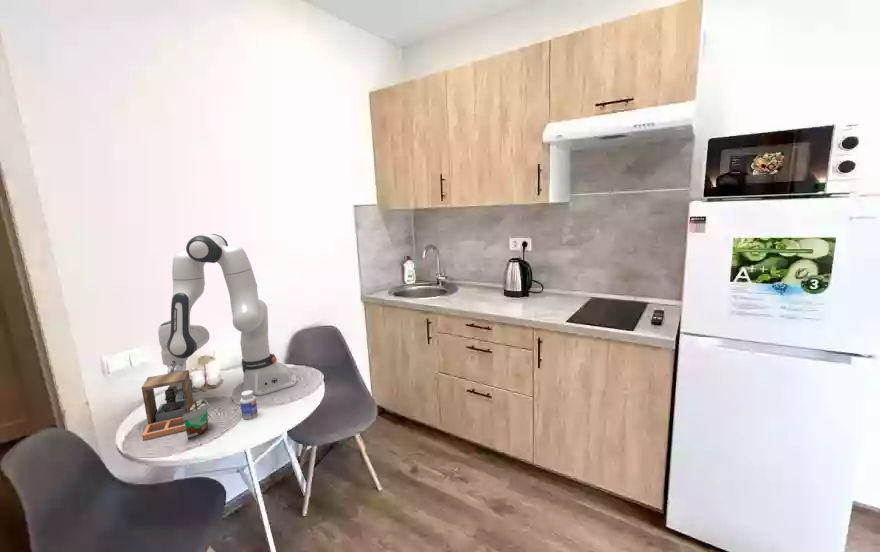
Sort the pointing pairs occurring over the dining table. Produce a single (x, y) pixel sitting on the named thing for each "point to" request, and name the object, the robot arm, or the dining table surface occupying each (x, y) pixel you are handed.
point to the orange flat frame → (164, 428)
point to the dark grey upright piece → (171, 401)
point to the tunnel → (161, 382)
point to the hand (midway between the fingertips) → (180, 388)
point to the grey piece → (175, 413)
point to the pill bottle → (248, 405)
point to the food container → (196, 418)
